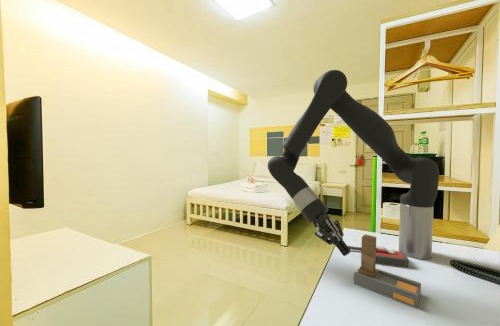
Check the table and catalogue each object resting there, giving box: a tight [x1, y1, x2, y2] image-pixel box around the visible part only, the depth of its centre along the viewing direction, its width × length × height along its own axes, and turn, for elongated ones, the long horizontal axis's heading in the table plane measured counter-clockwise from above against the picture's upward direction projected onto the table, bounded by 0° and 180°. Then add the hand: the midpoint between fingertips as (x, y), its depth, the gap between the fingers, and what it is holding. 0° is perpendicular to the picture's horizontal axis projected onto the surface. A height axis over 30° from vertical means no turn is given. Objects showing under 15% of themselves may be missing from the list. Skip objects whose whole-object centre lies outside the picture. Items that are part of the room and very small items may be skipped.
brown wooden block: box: [357, 234, 380, 279], centre depth 59 cm, size 4×4×10 cm
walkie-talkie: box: [347, 245, 409, 268], centre depth 74 cm, size 9×4×20 cm
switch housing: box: [353, 267, 422, 309], centre depth 56 cm, size 7×14×3 cm, turn 46°
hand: (347, 253), depth 63 cm, fingers closed
